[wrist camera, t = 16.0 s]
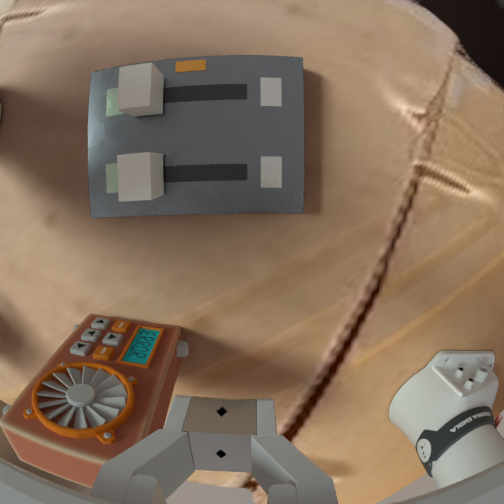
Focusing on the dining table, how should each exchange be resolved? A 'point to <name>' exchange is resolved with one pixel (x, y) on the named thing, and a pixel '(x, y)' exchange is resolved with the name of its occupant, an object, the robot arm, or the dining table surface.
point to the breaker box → (206, 137)
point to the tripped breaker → (140, 90)
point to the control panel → (95, 396)
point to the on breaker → (140, 176)
